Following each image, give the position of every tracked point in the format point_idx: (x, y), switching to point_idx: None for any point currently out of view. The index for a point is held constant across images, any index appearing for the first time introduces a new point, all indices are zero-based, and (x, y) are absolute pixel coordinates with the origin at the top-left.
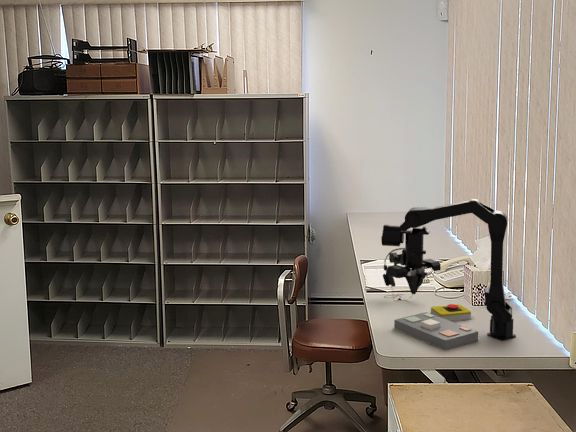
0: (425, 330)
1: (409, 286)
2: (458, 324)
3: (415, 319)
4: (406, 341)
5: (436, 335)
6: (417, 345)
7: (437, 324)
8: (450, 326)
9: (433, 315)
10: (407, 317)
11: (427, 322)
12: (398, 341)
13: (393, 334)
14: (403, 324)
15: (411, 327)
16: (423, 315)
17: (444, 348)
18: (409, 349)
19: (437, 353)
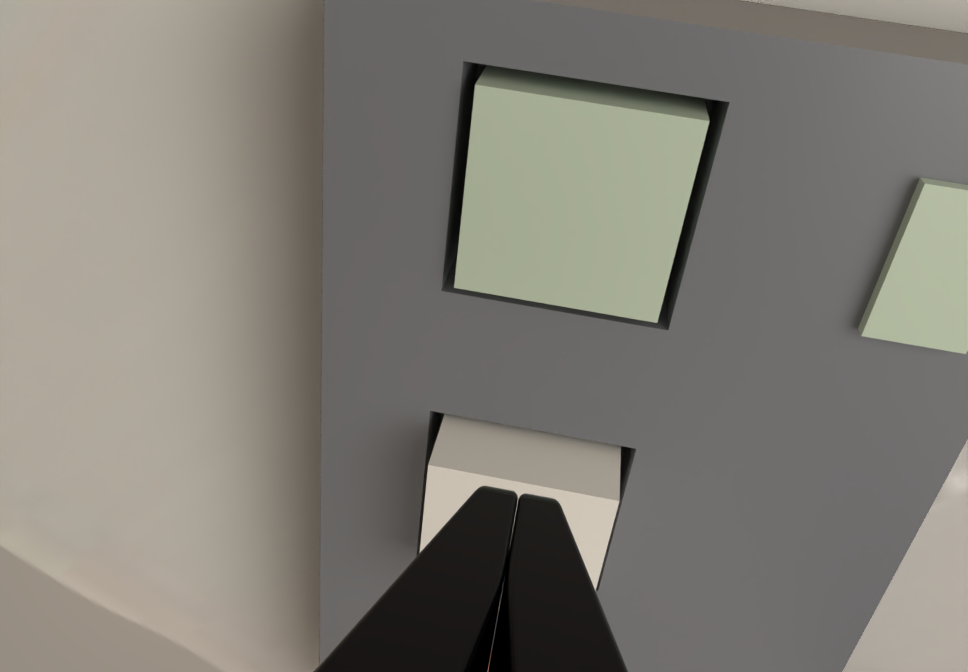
0: (363, 528)
1: (340, 660)
2: (828, 669)
3: (574, 250)
4: (194, 356)
5: None
6: (219, 478)
7: None
8: (696, 641)
9: (965, 333)
10: (598, 56)
11: None
12: (118, 300)
13: (202, 114)
14: (328, 196)
15: (325, 350)
16: (899, 187)
17: None
18: (94, 479)
19: (244, 649)
